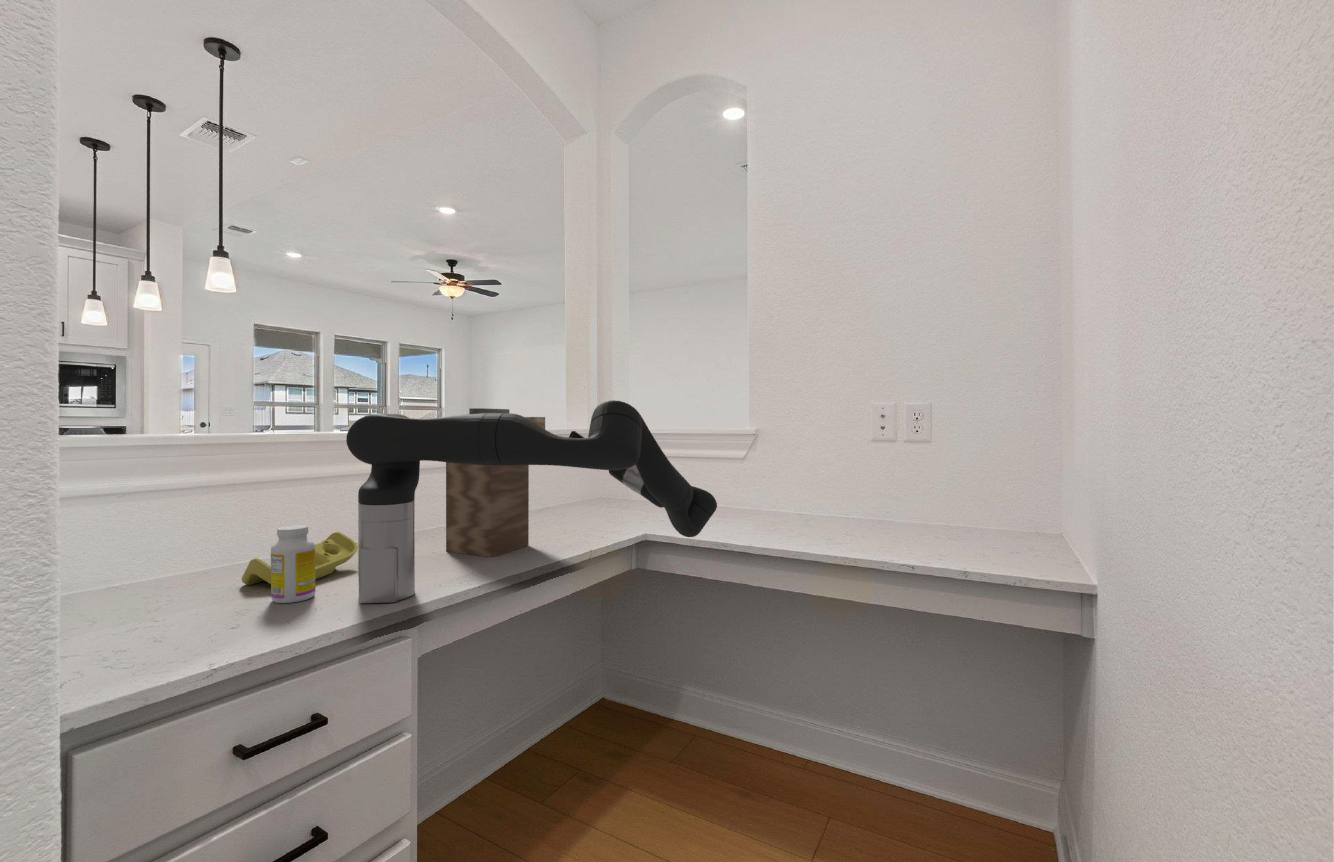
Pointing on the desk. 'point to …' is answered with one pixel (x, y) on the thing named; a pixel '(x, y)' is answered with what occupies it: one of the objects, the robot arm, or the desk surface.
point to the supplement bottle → (292, 565)
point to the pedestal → (486, 508)
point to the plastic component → (326, 559)
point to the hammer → (536, 420)
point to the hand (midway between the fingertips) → (581, 434)
